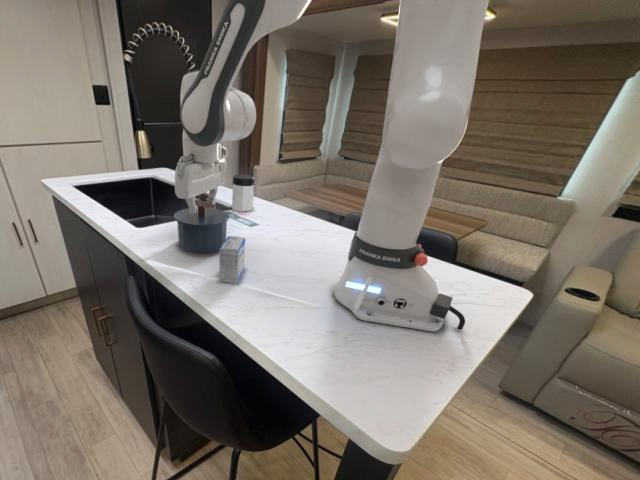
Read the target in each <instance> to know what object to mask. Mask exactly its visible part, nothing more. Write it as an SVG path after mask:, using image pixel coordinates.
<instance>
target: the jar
mask: <svg viewBox="0 0 640 480" xmlns="http://www.w3.org/2000/svg"><path fill="white" fill-rule="evenodd" d="M254 190H255V176H253V175H251V174H243V173H241V174H233V176H232V195H231V197H232V198H231V199H232V201H231V210H233V211H236V212H241V213H242V212H243V213H244V212H250V211H253V205H254V193H255V192H254Z"/></svg>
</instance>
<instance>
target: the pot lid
mask: <svg viewBox="0 0 640 480" xmlns="http://www.w3.org/2000/svg"><path fill="white" fill-rule="evenodd" d="M173 219H174V220H175V222H177V223H178V222H179V223H181V224H184V225H189V226H196V227H209V226H217V225H221V224H224V223H226V222H227V223H228V221H229V220H230V214H228V213H227V212H226V211H224V210H221V209H218V208H216V209H213V208H205V205H204V204H199V205H198V212H197V213H195V214H191V213H190V212H189V207H188V208H184V209H180V210H178V211H176V212H174V214H173Z"/></svg>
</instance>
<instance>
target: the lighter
mask: <svg viewBox="0 0 640 480" xmlns="http://www.w3.org/2000/svg"><path fill="white" fill-rule="evenodd" d="M208 196H209V192H208V191H207V192H205V193H202V194H200V195H198V197H197V198H196V200H195V204H196V206H198V205H199V204H204V205H205V208H213V209H217V208H216V206H217V202H216V201H215V204H213V205H208V204H207V198H208Z"/></svg>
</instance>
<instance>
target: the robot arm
mask: <svg viewBox="0 0 640 480" xmlns="http://www.w3.org/2000/svg"><path fill="white" fill-rule="evenodd" d="M311 2H312V0H228V2H227V3H226V6H225V7H224V10H223V13H222V15H221V17H220V19H219V21H218V25H217V26H216V29H215V32H214V33H213V36H212V39H211V41H210V43H209V47H208V49H207V51H206V54H205V56H204V58H203V60H202V63H201V65H200V68H199V69H196V70H191V71H189V72H186V74H184V75H183V77H182V80H181V86H180V110H179V111H180V112H179V115H180V123H181V126H182V128H183V131H182V138H181V139H182V154H183V155H182V156H180V157H179V160H178V162H177V164H176V167H175V171H174V194H175V196H176V198H178V199H182V200H185V202H186V204H187V206H188V208H189V212H190V213H191V214H195V213H197V212H198V206H196V201H195V200H196V197H197V196H198V197H199V195H200V194H202V193H205V192H207V193H208V194H209V196H208V198H207V204H208V205H213V204H215V202H216V196H217V193H218V188H219V187H221V186H223V185H224V184H225V181H226V174H227V160H226V158H227V157H228V149H227V148H226V147H225V146H224V145H221V143H229V142H235V141H241V140H244V139H246V138H248V137H249V136H250V135H252V133H253V131H254V129H255V127H256V124H257V118H258V115H257V107H256V104H255V102H254V99H253V98H252V97H251V96H250V94H248V93H245V92H243V91H241V90H239V89H238V88H235V87H233V84H234V83H235V80H236V78H237V77H238V74H239V72H240V70H241V68H242V66H243V63H244V61H245V59H246V57H247V55H248V54H249V52H250V51H251V49H252V47H253V46H254V45H255V44H256V43H257V42H258V41H259V40H261V39H262V38H263V37H265V36H266V35H268V34H270V33H272V32H275V31H276V30H280V29H283V28H287V27H289V26H290V25H293V24H294V23H296V22H297V21H298V20H300V18H301V17H302V16H303V14H304V13H305V12H306V10H307V8H308V7H309V5H310V4H311ZM489 2H490V0H399V7H398V8H399V9H398V15H397V24H396V33H395V41H394V48H393V57H392V63H391V68H390V76H389V84H388V90H387V99H386V106H385V113H384V119H383V120H384V122H383V128H382V135H381V136H382V138H381V139H382V140H381V144H380V148H379V151H378V155H377V159H376V162H375V165H374V170H373V173H372V176H371V180H370V183H369V185H368V190H367V193H366V198H365V200H364V204H363V208H362V212H361V214H360V215H361V216H360V220H359V223H358V227H357V230H356V232H354V233H353V236H352V239H351V242H350V244H349V245H350V246H349V249H348V254H347V262H346V265H345V267H344V270H343V272H342V274H341V276H340V278H339V280H338V282H337V284H336V285H335V286H334V288H333V291H332V292H333V296H334V297H335V299H336V301H338V302H339V303H340V304H341V305H342V306H343V307H345V308H347V309H348V310H350V311H351V312H352V314H353V315H354V316H355V317H356V318H357V319H358V320H361V321H364V322H365V321H366V322H372V323H378V324H383V325H388V326H389V325H390V326H396V327H401V328H407V329H415V330H420V331H426V332H433V333H435V332H438V331H439V330H441V329H442V327H443V326H444V325H443V324H444V321H445V318H446V317H447V315H448V312H451V313H452V314H454V315H455V316H456V317H457V318H458V320H459V323H458V325H457V327H456V329H457V330H461V331H462V330H463V329H464V326H465V323H466V318H465V316H464V315H463V313H462V312H460V310H457V309H456V308H454V307H453V306H452V301H453V298H454V297H452V296H450V295H447V294H444V293H441V292H440V293H439V288H438V285H437V283H436V281H435V279H434V278H433V277H432V276H431V275H430V274H429V272H428V271H426V269H425V268H424V266H426V265H427V264H428V260H429V259H428V256H427V254H426V253H425V250H424V248H422V244H421V243H417V241H418V238H419V236H420V233H421V231H422V228H423V225H424V223H425V220H426V218H427V215H428V212H429V210H430V207H431V205H432V201H433V196H434V193H435V188H436V185H437V181H438V178H439V175H440V172H441V168H442V165H443V162H444V161H445V159H447V158H448V157H449V156H451V154H452V153H453V152H454V151H456V149H457V148H458V147H459V145H460V143H461V142H462V140H463V138H464V137H465V136H464V135H465V134H466V130H467V126H468V120H469V116H470V111H471V105H472V101H473V95H474V94H473V93H474V88H475V82H476V78H477V71H478V70H477V69H478V62H479V57H480V49H481V41H482V35H483V29H484V25H485V21H486V16H487V12H488V7H489Z"/></svg>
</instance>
